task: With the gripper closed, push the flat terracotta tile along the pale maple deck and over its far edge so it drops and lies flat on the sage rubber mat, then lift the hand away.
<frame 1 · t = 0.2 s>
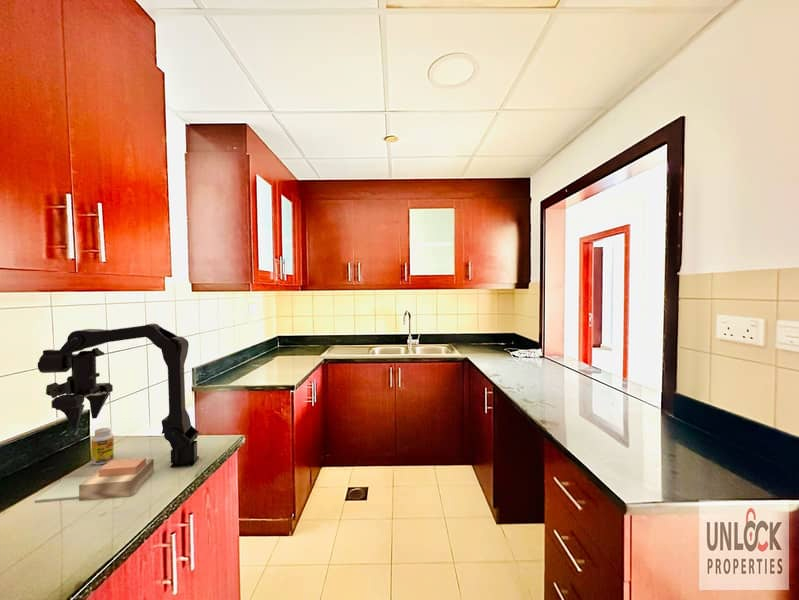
hand: (84, 423, 116), 14 cm above the counter, tool pointing down, fingers open, 9 cm apart
maple deck: (119, 485, 108), on the counter
supplement bottle: (102, 462, 123), on the counter
terracotta tile: (123, 470, 108), point 4 cm above the counter, touching maple deck
sage mat: (72, 489, 106), on the counter
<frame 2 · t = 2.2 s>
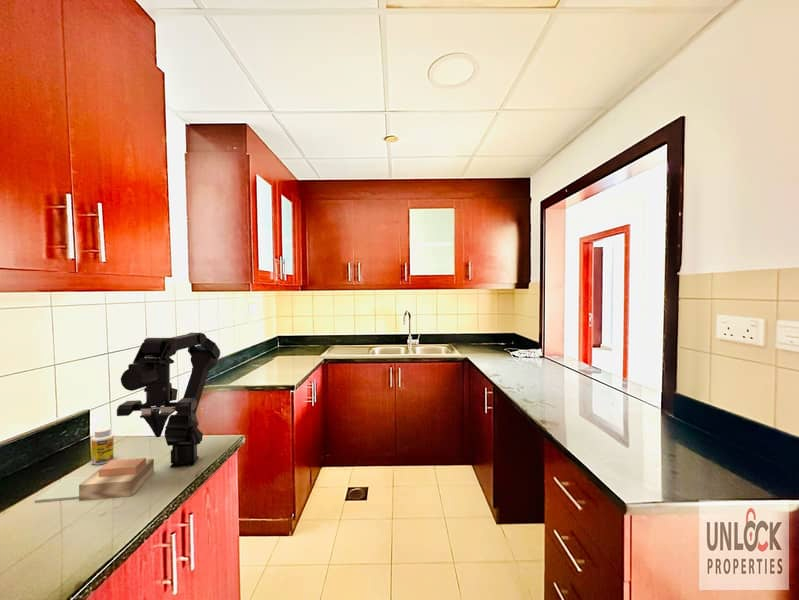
hand: (158, 436, 110), 13 cm above the counter, tool pointing down, fingers closed
nothing on the counter moved.
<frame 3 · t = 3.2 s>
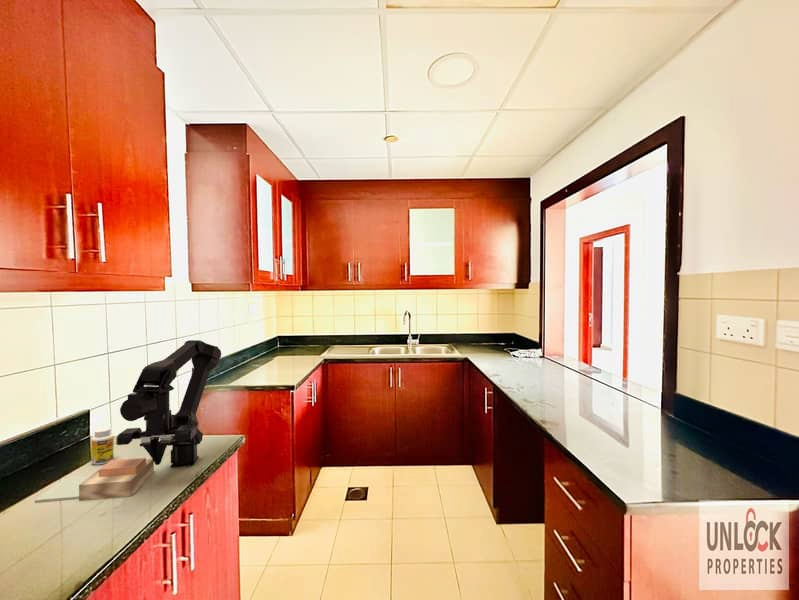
hand: (158, 464, 110), 5 cm above the counter, tool pointing down, fingers closed
nothing on the counter moved.
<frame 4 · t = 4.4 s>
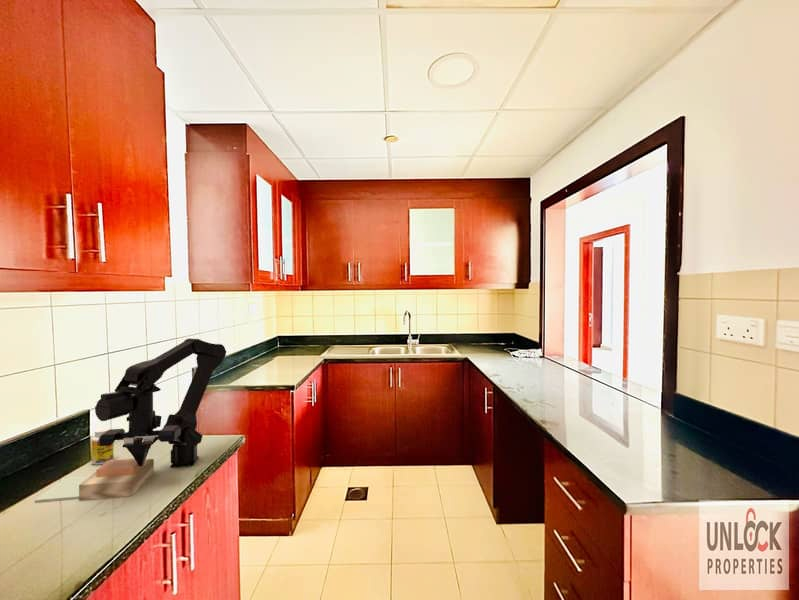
hand: (141, 465, 109), 5 cm above the counter, tool pointing down, fingers closed
terracotta tile: (120, 470, 108), point 4 cm above the counter, touching gripper, maple deck
everything else where it was.
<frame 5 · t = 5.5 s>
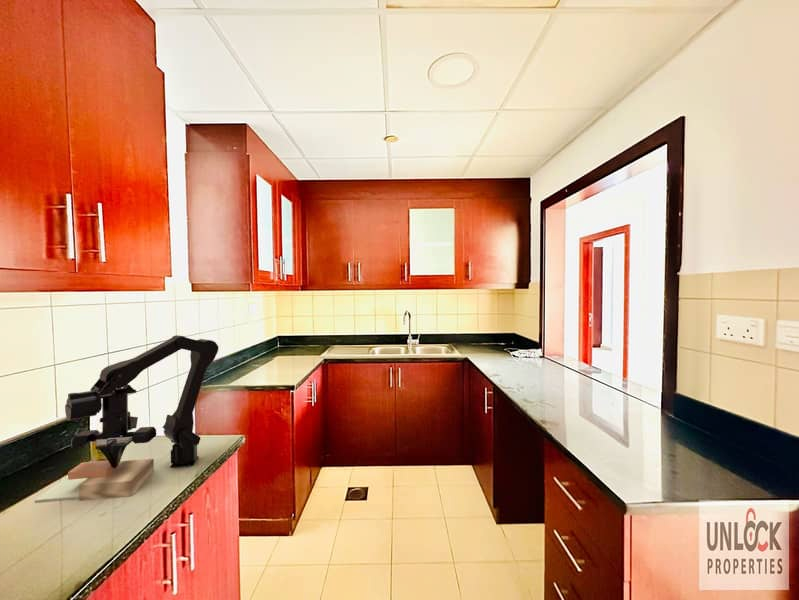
hand: (115, 467, 107), 5 cm above the counter, tool pointing down, fingers closed
terracotta tile: (94, 472, 106), point 4 cm above the counter, touching gripper
everything else where it was.
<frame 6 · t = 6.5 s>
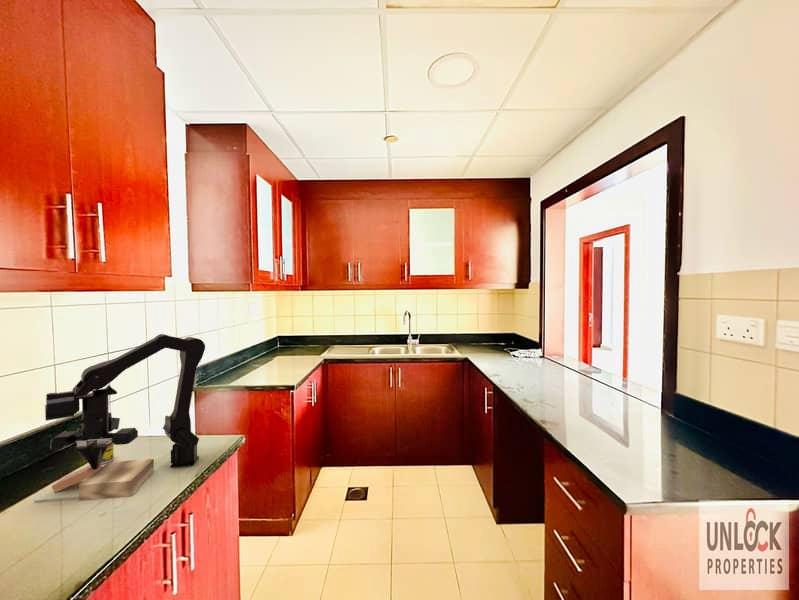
hand: (95, 468, 106), 5 cm above the counter, tool pointing down, fingers closed
terracotta tile: (79, 479, 106), point 2 cm above the counter, tilted 23°, touching gripper
everything else where it was.
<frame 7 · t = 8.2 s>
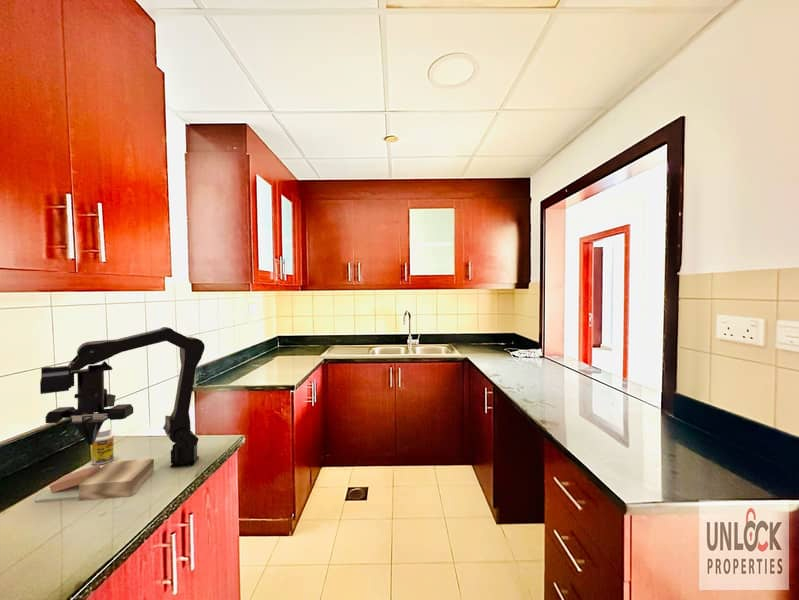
hand: (91, 444, 106), 12 cm above the counter, tool pointing down, fingers closed
terracotta tile: (77, 481, 106), point 2 cm above the counter, tilted 16°, touching maple deck, sage mat
everything else where it was.
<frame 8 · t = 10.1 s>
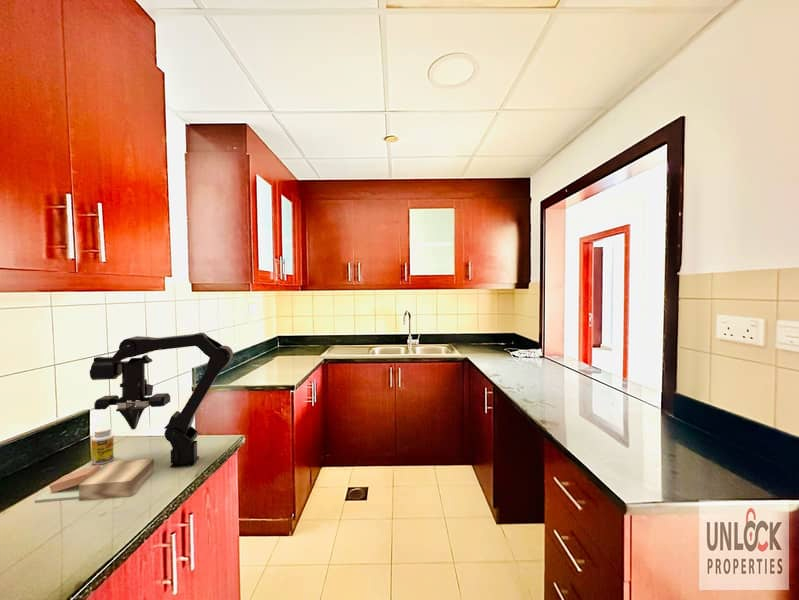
hand: (133, 429, 118), 12 cm above the counter, tool pointing down, fingers closed
nothing on the counter moved.
at the end: terracotta tile inside the target area (1.5 cm from its centre), point 1.8 cm above the counter; terracotta tile tilted 16° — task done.
